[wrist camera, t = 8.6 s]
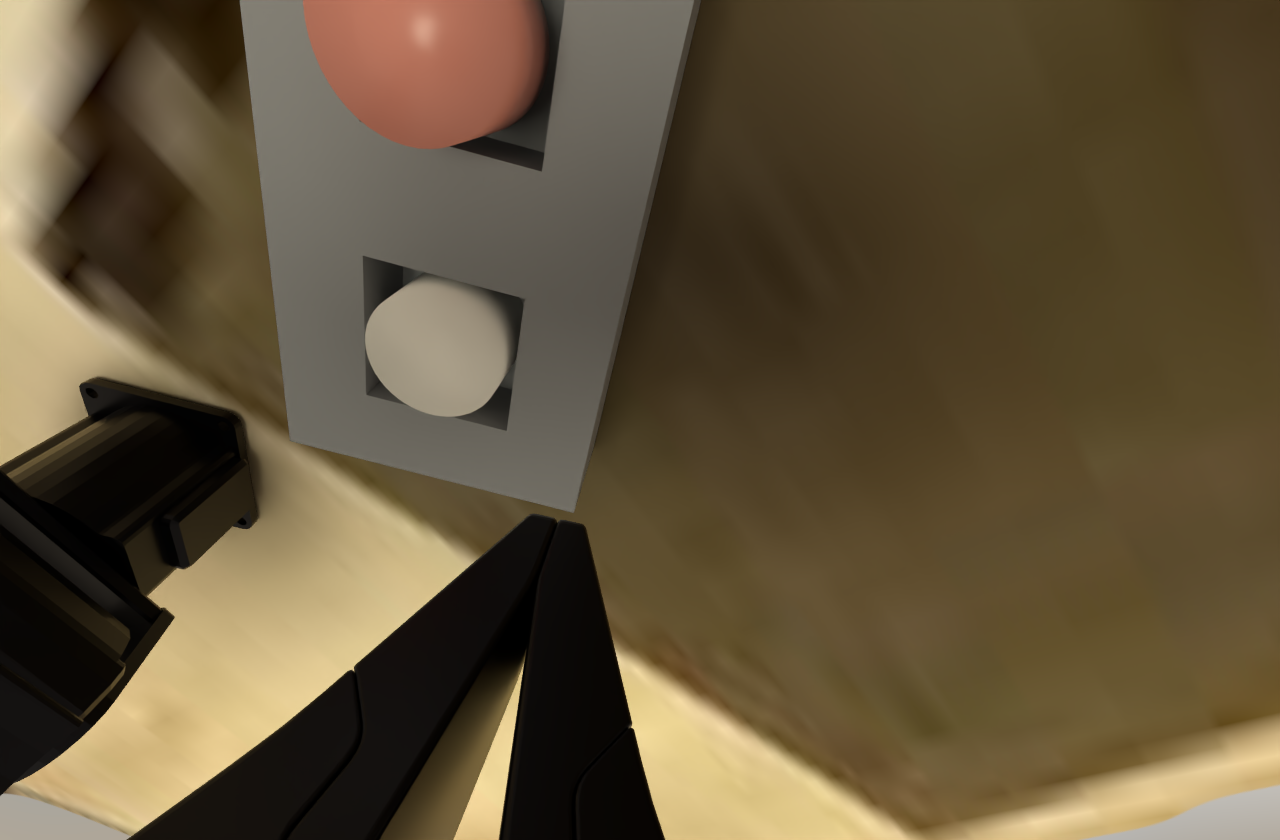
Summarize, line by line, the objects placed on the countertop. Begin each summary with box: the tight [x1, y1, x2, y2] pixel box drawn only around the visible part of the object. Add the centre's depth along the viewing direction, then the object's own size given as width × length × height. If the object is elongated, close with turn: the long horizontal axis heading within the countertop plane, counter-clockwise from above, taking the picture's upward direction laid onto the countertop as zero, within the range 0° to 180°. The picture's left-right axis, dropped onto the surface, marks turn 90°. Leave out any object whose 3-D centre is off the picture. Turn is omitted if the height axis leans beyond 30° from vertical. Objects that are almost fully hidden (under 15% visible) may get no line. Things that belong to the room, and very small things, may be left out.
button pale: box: [365, 272, 524, 417], centre depth 18 cm, size 4×4×3 cm
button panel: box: [240, 0, 701, 513], centre depth 15 cm, size 10×26×4 cm, turn 166°
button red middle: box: [303, 0, 550, 149], centre depth 12 cm, size 4×4×3 cm
